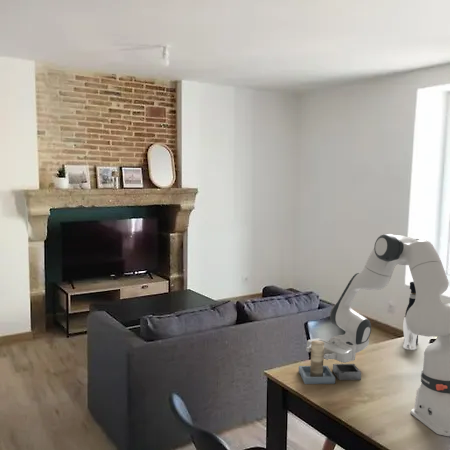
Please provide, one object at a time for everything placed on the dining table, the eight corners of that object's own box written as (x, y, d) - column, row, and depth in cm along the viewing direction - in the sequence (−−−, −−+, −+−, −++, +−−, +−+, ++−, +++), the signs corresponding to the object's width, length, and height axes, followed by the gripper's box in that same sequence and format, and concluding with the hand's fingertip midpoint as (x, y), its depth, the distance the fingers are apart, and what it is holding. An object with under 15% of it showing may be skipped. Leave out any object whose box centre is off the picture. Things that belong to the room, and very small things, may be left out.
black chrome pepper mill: (401, 340, 247) (404, 281, 244) (411, 339, 249) (415, 280, 246) (409, 345, 241) (413, 284, 238) (420, 344, 243) (424, 283, 240)
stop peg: (324, 378, 199) (325, 344, 198) (311, 378, 199) (313, 344, 197) (321, 373, 204) (322, 340, 202) (308, 373, 204) (310, 340, 202)
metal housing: (360, 379, 200) (361, 372, 200) (338, 379, 199) (339, 372, 199) (353, 370, 209) (354, 363, 209) (332, 371, 208) (332, 364, 208)
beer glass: (415, 346, 240) (417, 315, 239) (419, 351, 233) (421, 320, 232) (400, 345, 241) (402, 315, 239) (404, 350, 234) (405, 319, 232)
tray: (335, 383, 196) (335, 377, 195) (304, 383, 195) (305, 377, 195) (327, 371, 208) (327, 365, 207) (298, 371, 207) (298, 365, 207)
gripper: (320, 332, 216) (297, 338, 208) (358, 346, 200) (335, 353, 192) (319, 346, 217) (297, 353, 208) (358, 361, 201) (335, 369, 192)
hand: (316, 353), depth 200 cm, fingers open, 8 cm apart
